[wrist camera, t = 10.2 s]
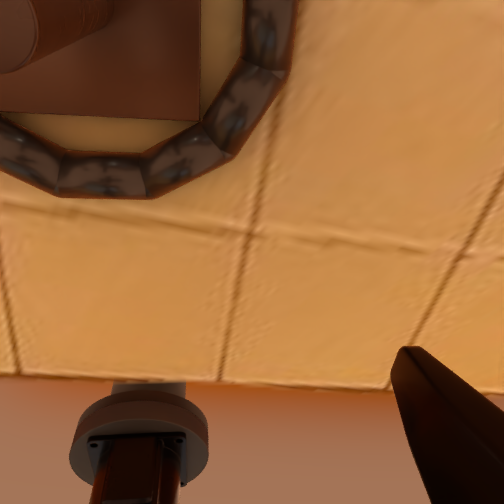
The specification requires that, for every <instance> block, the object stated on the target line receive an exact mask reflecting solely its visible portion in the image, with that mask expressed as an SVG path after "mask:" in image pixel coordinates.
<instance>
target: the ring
mask: <svg viewBox="0 0 504 504" xmlns="http://www.w3.org/2000/svg"><path fill="white" fill-rule="evenodd" d="M298 5H299V0H243V11H242V29H241V47H240V57H239V59H238V60H237V62H236V64H235V65H234V67H233V69H232V70H231V72H230V74H229V75H228V77H227V79H226V80H225V82H224V84H223V85H222V87H221V89H220V90H219V92H218V94H217V95H216V97H215V99H214V100H213V102H212V104H211V105H210V107H209V109H208V110H207V112H206V114H205V115H204V117H203V119H202V120H201V121H200V122H198V123H197V124H195V125H193V126H191V127H189V128H187V129H185V130H183V131H181V132H180V133H178V134H176V135H174V136H172V137H170V138H168V139H166V140H164V141H163V142H161V143H159V144H157V145H155V146H153V147H151V148H149V149H147V150H146V151H144V152H142V153H124V152H97V151H70V150H67V149H65V148H63V147H61V146H59V145H57V144H55V143H53V142H51V141H49V140H47V139H46V138H44V137H42V136H40V135H38V134H36V133H34V132H32V131H30V130H28V129H26V128H24V127H23V126H21V125H19V124H17V123H15V122H13V121H11V120H9V119H7V118H5V117H3V116H1V115H0V171H2V172H4V173H7V174H9V175H11V176H13V177H15V178H17V179H19V180H21V181H23V182H26V183H28V184H30V185H32V186H34V187H36V188H38V189H40V190H43V191H45V192H47V193H49V194H51V195H53V196H56V197H60V198H85V199H130V200H153V199H156V198H159V197H161V196H163V195H165V194H167V193H169V192H171V191H172V190H174V189H176V188H178V187H180V186H182V185H184V184H186V183H188V182H190V181H192V180H194V179H196V178H198V177H200V176H202V175H204V174H206V173H208V172H210V171H212V170H214V169H216V168H218V167H220V166H222V165H224V164H226V163H228V162H230V161H231V160H233V159H234V158H235V157H236V155H237V154H238V153H239V151H240V150H241V148H242V147H243V145H244V144H245V142H246V141H247V139H248V138H249V136H250V135H251V133H252V132H253V130H254V129H255V127H256V126H257V124H258V123H259V122H260V120H261V119H262V117H263V116H264V114H265V113H266V111H267V110H268V108H269V107H270V105H271V104H272V102H273V101H274V99H275V98H276V96H277V95H278V93H279V92H280V90H281V89H282V87H283V86H284V84H285V83H286V81H287V79H288V77H289V75H290V71H291V64H292V56H293V47H294V39H295V30H296V22H297V14H298Z"/></svg>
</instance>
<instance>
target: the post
mask: <svg viewBox="0 0 504 504" xmlns="http://www.w3.org/2000/svg"><path fill="white" fill-rule="evenodd" d="M200 59H201V0H0V112H17V113H38V114H58V115H79V116H99V117H120V118H140V119H161V120H181V121H200Z"/></svg>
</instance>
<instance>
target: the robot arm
mask: <svg viewBox="0 0 504 504" xmlns="http://www.w3.org/2000/svg"><path fill="white" fill-rule="evenodd" d="M390 376H391V382H392V386H393V390H394V393H395V397H396V400H397V404H398V408H399V412H400V415H401V419H402V422H403V426H404V430H405V434H406V437H407V440H408V443H409V446H410V449H411V452H412V454H413V458H414V460H415V463H416V465H417V468H418V470H419V473H420V476H421V478H422V481H423V483H424V486H425V488H426V491H427V494H428V496H429V499H430V502H431V504H504V411H502V410H501V409H500V408H499V407H497V406H496V405H495V404H493V403H492V402H491V401H490V400H488V399H487V398H486V397H485V396H483V395H482V394H481V393H479V392H478V391H477V390H476V389H474V388H473V387H472V386H470V385H469V384H468V383H467V382H465V381H464V380H463V379H461V378H460V377H459V376H458V375H456V374H455V373H454V372H452V371H451V370H450V369H449V368H447V367H446V366H445V365H443V364H442V363H441V362H440V361H438V360H437V359H436V358H435V357H433V356H432V355H431V354H429V353H428V352H427V351H426V350H424V349H423V348H421V347H419V346H403V347H401V348H400V349H399V351H398V353H397V356H396V358H395V361H394V364H393V366H392V369H391V374H390ZM86 447H87V451H88V455H89V459H90V463H91V467H92V471H93V475H94V483H93V488H92V493H91V498H90V502H89V504H179V500H180V487H184V486H186V485H187V437H186V433H184V432H181V431H176V432H156V433H135V434H114V435H94V436H90V437H89V438H88V439H87V443H86Z"/></svg>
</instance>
